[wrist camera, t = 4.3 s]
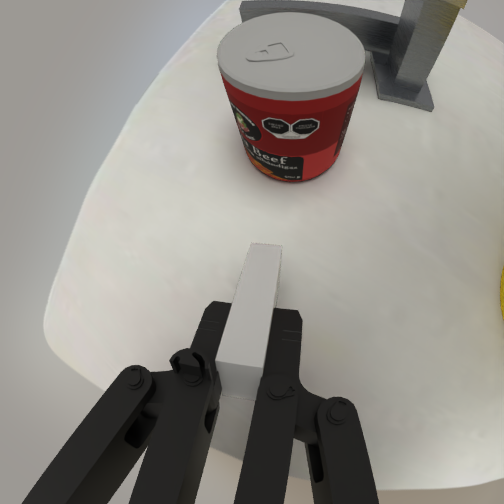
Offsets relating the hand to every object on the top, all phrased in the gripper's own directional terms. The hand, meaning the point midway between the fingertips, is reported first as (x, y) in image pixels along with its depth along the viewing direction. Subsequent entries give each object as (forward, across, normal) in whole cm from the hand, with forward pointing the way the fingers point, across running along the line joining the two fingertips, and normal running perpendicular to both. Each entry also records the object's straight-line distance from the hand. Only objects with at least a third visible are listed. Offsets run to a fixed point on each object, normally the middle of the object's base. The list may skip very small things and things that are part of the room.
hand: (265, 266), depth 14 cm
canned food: (+13, +1, +3) cm, 13 cm away
